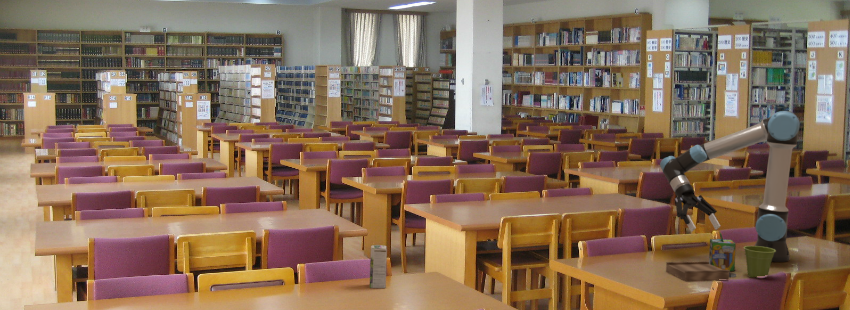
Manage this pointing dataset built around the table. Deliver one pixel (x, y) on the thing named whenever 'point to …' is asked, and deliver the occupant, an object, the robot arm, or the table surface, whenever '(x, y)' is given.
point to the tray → (696, 271)
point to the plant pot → (758, 260)
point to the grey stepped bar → (732, 274)
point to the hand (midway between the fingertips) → (705, 228)
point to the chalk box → (722, 254)
